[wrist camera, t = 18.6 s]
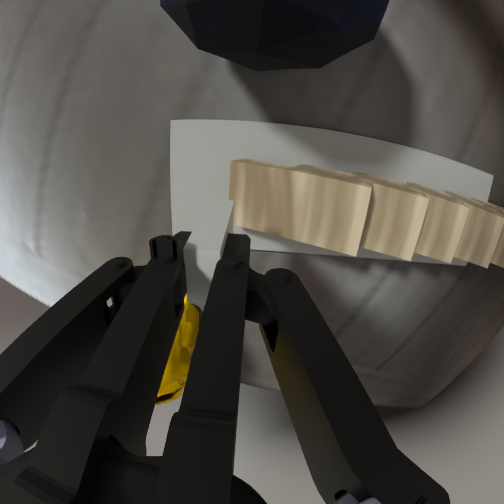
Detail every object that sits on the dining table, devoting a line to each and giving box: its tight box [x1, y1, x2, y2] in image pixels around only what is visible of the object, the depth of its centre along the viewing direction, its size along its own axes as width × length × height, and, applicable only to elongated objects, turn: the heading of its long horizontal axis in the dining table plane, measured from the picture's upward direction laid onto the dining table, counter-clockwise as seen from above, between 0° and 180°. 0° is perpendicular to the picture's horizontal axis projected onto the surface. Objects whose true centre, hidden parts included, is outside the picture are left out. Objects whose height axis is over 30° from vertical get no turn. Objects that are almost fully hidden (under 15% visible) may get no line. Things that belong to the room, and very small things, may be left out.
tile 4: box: [407, 181, 504, 268], centre depth 22 cm, size 2×5×11 cm
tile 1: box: [229, 158, 372, 257], centre depth 22 cm, size 2×5×11 cm
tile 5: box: [444, 190, 504, 268], centre depth 21 cm, size 2×5×11 cm
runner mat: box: [170, 120, 493, 266], centre depth 25 cm, size 12×35×1 cm, turn 86°
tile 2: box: [295, 164, 429, 261], centre depth 22 cm, size 2×5×11 cm
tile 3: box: [352, 171, 469, 264], centre depth 22 cm, size 2×5×11 cm
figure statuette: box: [155, 295, 199, 405], centre depth 22 cm, size 18×8×22 cm, turn 163°
